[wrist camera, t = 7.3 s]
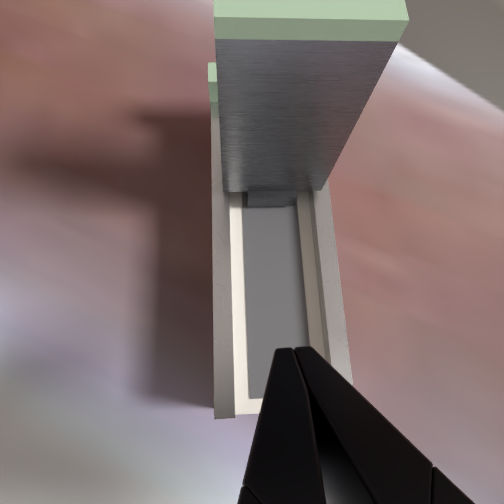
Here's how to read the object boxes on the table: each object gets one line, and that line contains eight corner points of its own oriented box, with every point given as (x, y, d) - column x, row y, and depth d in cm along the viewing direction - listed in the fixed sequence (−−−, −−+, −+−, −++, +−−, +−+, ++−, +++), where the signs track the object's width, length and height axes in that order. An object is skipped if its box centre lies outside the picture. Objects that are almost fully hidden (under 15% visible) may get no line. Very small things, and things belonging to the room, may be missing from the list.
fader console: (335, 402, 15) (370, 415, 11) (216, 409, 15) (210, 425, 11) (305, 123, 19) (324, 63, 15) (212, 123, 19) (207, 62, 15)
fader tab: (317, 205, 15) (411, 31, 7) (223, 207, 15) (214, 28, 7) (311, 144, 16) (388, -69, 8) (222, 145, 16) (212, -76, 8)
